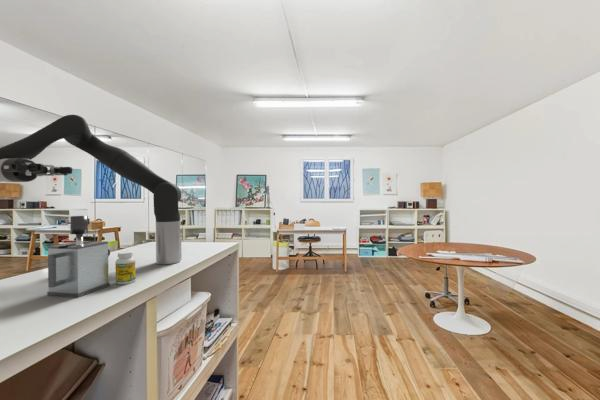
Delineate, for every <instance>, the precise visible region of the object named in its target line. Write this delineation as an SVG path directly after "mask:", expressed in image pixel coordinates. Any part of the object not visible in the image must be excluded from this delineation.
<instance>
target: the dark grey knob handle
mask: <svg viewBox="0 0 600 400" xmlns="http://www.w3.org/2000/svg"><path fill="white" fill-rule="evenodd" d="M69 225H70V229H69V230H70V231H69V232H70V235H75V242H76V245H80V244H83V241H84V235H85V234H89V215H70V224H69Z"/></svg>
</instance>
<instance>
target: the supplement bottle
mask: <svg viewBox="0 0 600 400" xmlns="http://www.w3.org/2000/svg"><path fill="white" fill-rule="evenodd" d="M133 253H134V252H133V251H132V250H129V251H128V250H126V251H120V252H118V253H117V258H118V259H116V261H115V283H116V284H117V285H129V284H132V283H134V282H136V278H137V277H136V276H137V275H136V272H137V271H136V259H135V257H133V256H134V255H133Z"/></svg>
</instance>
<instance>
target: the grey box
mask: <svg viewBox="0 0 600 400" xmlns="http://www.w3.org/2000/svg"><path fill="white" fill-rule="evenodd" d="M108 249H109V241H100V240H98V241H92V243H91V240H83V244H80V245H76V241H73V242H72V241H71V242H67V243H60V244H55V245H54V244H53V245H48V246H47V250H48V251H47V253H48V254H47V269H48V270H47V273H48V274H47V275H48V276H47V277H48V284H47V286H48V291H47V292H46V296H48V297H63V298H66V297H67V298H80V297H83V296H85V295H88V294H91V293H94V292H96V291H100V290H102V289H104V288H107V287H110V284H111V283H110V282H109V257H108Z"/></svg>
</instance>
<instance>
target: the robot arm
mask: <svg viewBox="0 0 600 400" xmlns="http://www.w3.org/2000/svg"><path fill="white" fill-rule="evenodd" d="M62 139H64V140H65V142H67V143H68V144H70V145H72V146H74V147H75V148H77V149H79V150H82V151H83V152H85V153H87V154H88V155H90V156H92V157H93V158H95V159H96V160H97V161H99V162H100V163H102V164H103V165H104V166H106V167H107V168H109V169H110V170H111V171H113V172H114V173H116V174H118V175H119V176H120V177H122V178H124V179H125V180H127V181H130V182H132V183H133V184H137V185H138V186H141V187H143V188H145V189H147V190H148V191H149V192H151V193H152V194H153V214H154V217H155V264H156V265H173V264H176V263H180V262H181V260H182V238H181V214H180V211H179V201H180V200H181V199H182V191H181V189H180V188H179V186H178V185H177V184H174V183H172V182H170V181H168V180H166V179H165V178H163V177H162V176H160V175H158V174H157V173H155V172H154V171H153V170H152V169H150V168H149V167H148V166H147V165H146V164H144V163H143V162H142V161H140V160H139V159H137V158H136V157H135V156H134V155H132V154H130V153H129V152H127V151H126V150H124V149H123V148H119V147H117V146H113V145H110V144H107V143H105V142H104V141H102V140H101V139H100V138H98V137H97V136H96V135H94V134H93V133H92V132H91V129H90V127H89V125H88V122H87V121H86V119H85V118H84V117H82V116H81V115H78V114H65V115H63V116H62V117H59V118H58V119H56V120H54V121H53V122H51V123H49V124H48V125H46V126H44V127H42V128H40V129H39V130H37V131H35V132H33V133H31V134H30V135H28V136H26V137H24V138H21V139H19V140H17V141H14V142H11V143H9V144H7V145H5V146H1V147H0V182H3V183H5V182H6V183H27V182H33V181H34V180H36V179H37V178H38V177H44V176H45V177H50V176H51V177H54V176H68V175H71V174H73V167H72V166H55V165H53V164H43V163H36V162H35V161H34V160H32V159H34V158H36V157H37V156H39V154H41V153H42V152H43V151H44V150H45V149H46V148H48V147H49V146H51V145H52V144H54V143H56V142H57V141H60V140H62ZM48 168H49V169H48Z"/></svg>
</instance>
